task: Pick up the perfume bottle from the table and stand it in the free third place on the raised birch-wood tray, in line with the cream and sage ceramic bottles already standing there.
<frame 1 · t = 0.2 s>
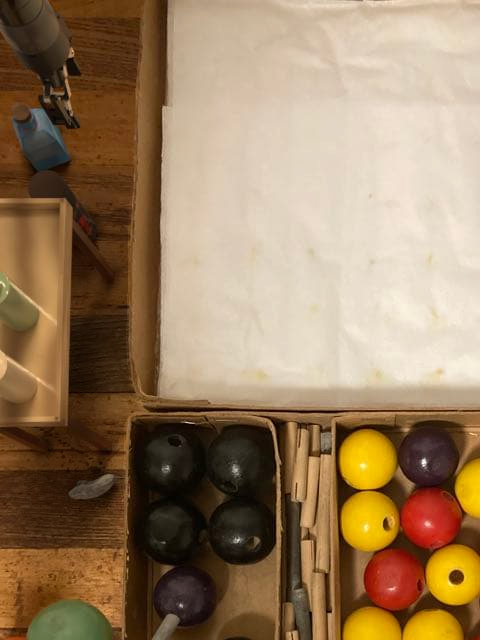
hand: (74, 100, 130), 22 cm above the table, tool pointing down, fingers open, 8 cm apart
cream bottle: (18, 385, 125), point 23 cm above the table, touching tray stand
fossil: (97, 489, 147), on the table
deodorant: (80, 230, 151), on the table
perfume bottle: (49, 151, 152), on the table
tray stand: (23, 316, 127), on the table
sage bottle: (20, 313, 126), point 23 cm above the table, touching tray stand
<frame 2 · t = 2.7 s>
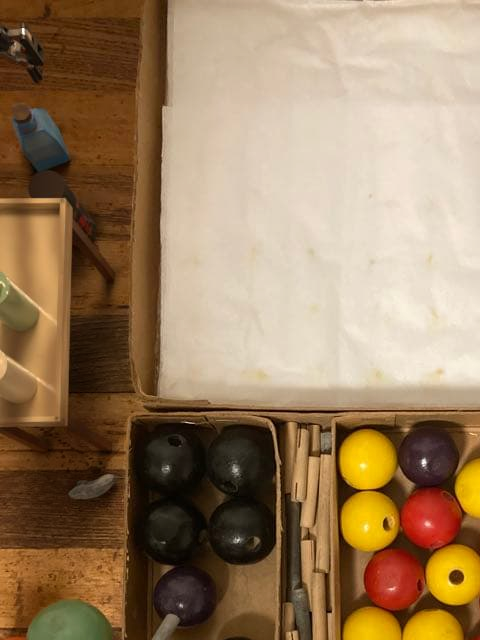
hand: (10, 79, 130), 22 cm above the table, tool pointing down, fingers open, 8 cm apart
nothing on the table moved.
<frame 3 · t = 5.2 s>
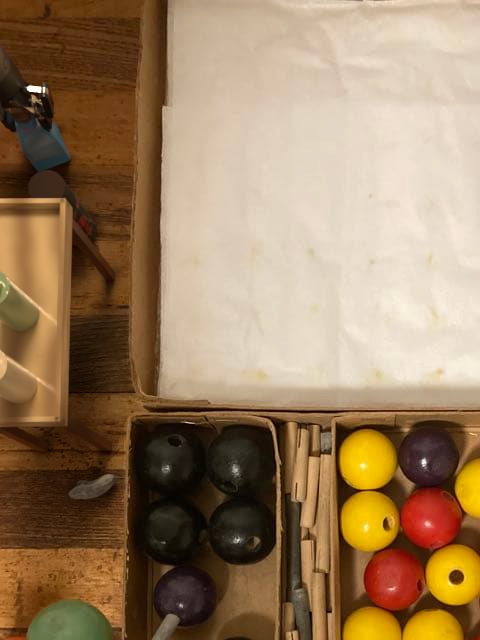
hand: (31, 126, 145), 7 cm above the table, tool pointing down, fingers closed on perfume bottle, 5 cm apart
perfume bottle: (49, 151, 152), on the table, touching gripper
everything else where it was.
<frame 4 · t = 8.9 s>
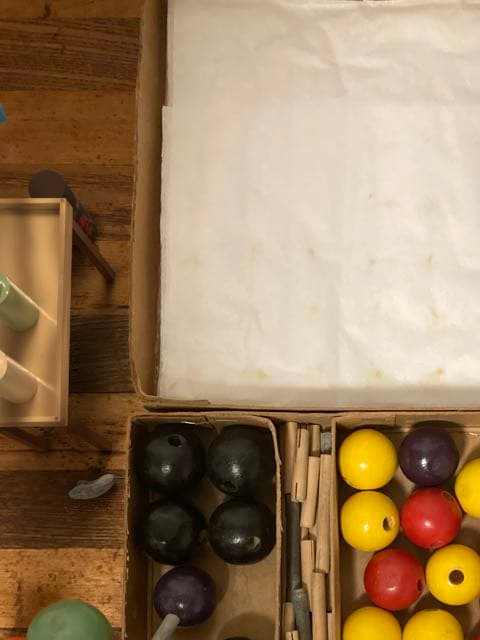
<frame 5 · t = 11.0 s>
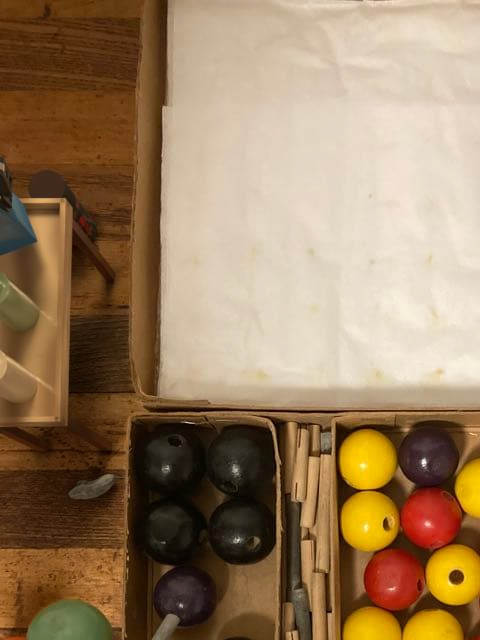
perfume bottle: (11, 230, 123), point 27 cm above the table, touching gripper
everything else where it was.
when the fingers open (30 cm above the table, at t = 12.6 s): perfume bottle stays where it is, resting on tray stand.
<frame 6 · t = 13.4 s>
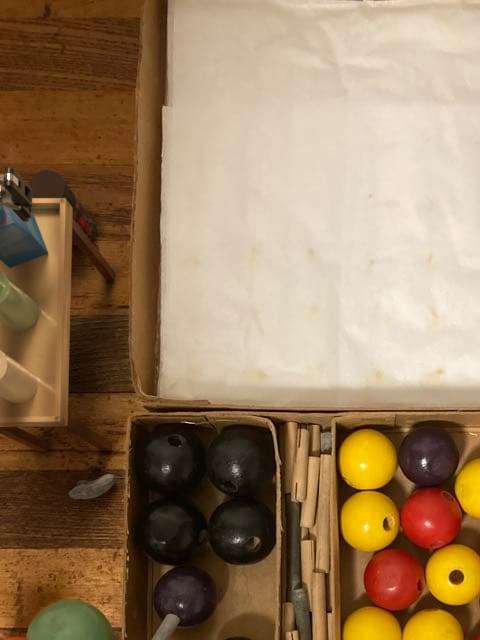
perfume bottle: (22, 243, 127), point 23 cm above the table, touching tray stand
everything else where it was.
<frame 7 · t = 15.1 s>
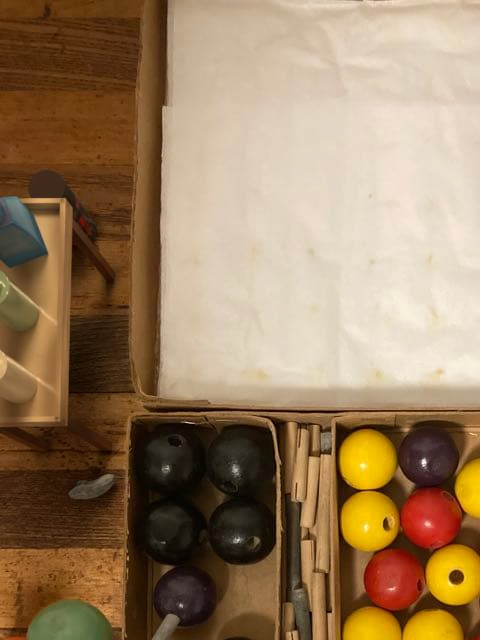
nothing on the table moved.
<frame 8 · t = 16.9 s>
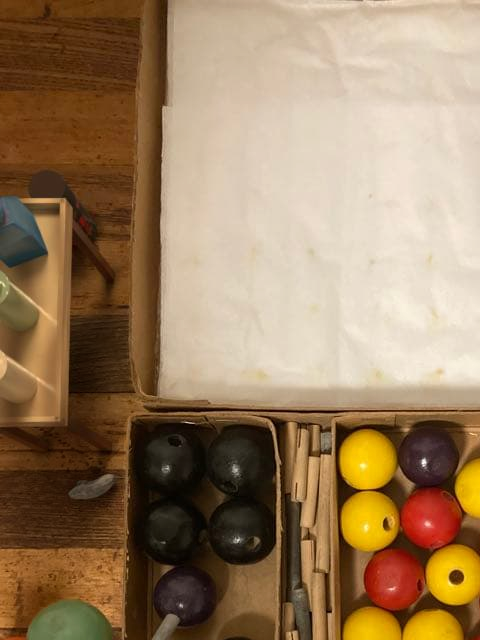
nothing on the table moved.
at the end: perfume bottle 0.1 cm from the target spot on the tray stand, point 0.8 cm above the tray stand's base; perfume bottle tilted 0°; sage bottle tilted 0° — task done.
